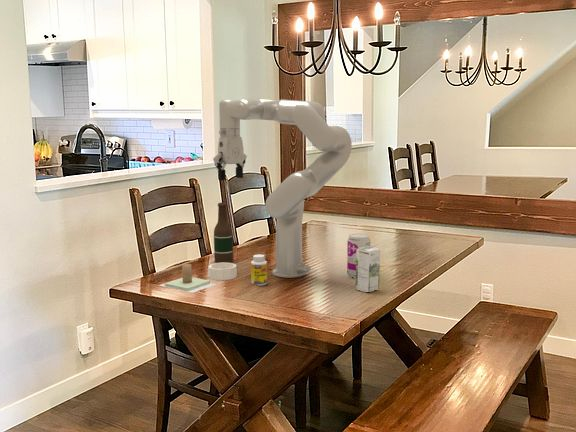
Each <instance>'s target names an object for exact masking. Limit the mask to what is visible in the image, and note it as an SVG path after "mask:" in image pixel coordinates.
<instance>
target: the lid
mask: <svg viewBox="0 0 576 432" xmlns="http://www.w3.org/2000/svg"><path fill="white" fill-rule="evenodd" d="M192 267H193V266H192V264H191V263H184V264H181V269H182V271H181V272H182V273H181V274H182V276H181V277H180V278H177V279H174V280H171V281H168V282H165V286H166V287H165V288H168V287H171V288H170V289H172V288H175V289H174V290H177V289H180V290H179V291H181V290H185V291H184V292H186V291H190V290H193V289H196V288H199V287H202V286H204V285H207V284H210V283H211V280H208V279H203V278H199V277H193V273H192Z"/></svg>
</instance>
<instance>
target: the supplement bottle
mask: <svg viewBox="0 0 576 432" xmlns="http://www.w3.org/2000/svg"><path fill="white" fill-rule="evenodd" d="M252 258H253V259H252V260H251V262H250V272H251V273H250V274H251V276H250V278H251V279H250V281H251V284H252V285H256V286H257V287H261V286H262V287H263V286H266V285H267V283H268V262H267V260H266V258H265V254H254V255H252Z"/></svg>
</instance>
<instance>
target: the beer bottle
mask: <svg viewBox="0 0 576 432" xmlns="http://www.w3.org/2000/svg"><path fill="white" fill-rule="evenodd" d="M227 206H228V205H227V202H218V203H217V207H218V209H217V210H218V212H217V213H218V214H217V223H216V224H215V226H214V229H213V249H214V250H213V252H214V263H221V262H226V263H234V242H233V241H234V239H233V230H232V227H231V225H230V223H229V221H228V210H227Z"/></svg>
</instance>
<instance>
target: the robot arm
mask: <svg viewBox="0 0 576 432" xmlns="http://www.w3.org/2000/svg"><path fill="white" fill-rule="evenodd" d="M218 105H219V131H218V133H219V138H218V144H217V145H218V146H217V154H216V155H215V156H214V157H213V158H212V160H213V163H214V165H215V167H216V170H217V178H218V181H226V177H227V176H226V169H225V168H226V166H227V165H235V178H237V179H238V178H239V179H243V178H244V168H245V164H246V163H247V162H246V160H247V157H248V155H247V154H246V153H244V151H245V150H244V144H243V138H242V136H241V120H242V121H248V120H262V121H263V120H265V121H274V122H278V123H279V124H282V125H294V126H296V127H297V128H298V129H299V130H300V132H302V134H303V135H304V136H305V137H306V138H307V140H308V141H309V142H310V143H311V144H312V145H313V146H314V147H315V148H316V149H317V150H318V151H320V152H323V153H321V154H320V155H319V156H318V157H317V158H315V160H314V161H313V162H312V163H311V164H310V165H308V166H307V167H306V168H305V169H303V170H298V171H295V172H293V173H291V174H290V175H288V176H287V177H286V178H284V180H283V181H282V182H281V183H280V184H279V185H278V186H277V187H276V188H275V189H274V190H273V191H272V192H271V193H270V194H269V195H268V197H267V198H266V200H265V211H266V213H267V215H268V216H269V217H271V218H273V219H275V220H276V225H275V226H276V227H275V237H276V238H275V241H276V244H275V245H276V246H275V247H276V249H275V250H276V251H275V252H276V268H273V269H272V275H273V276H276V277H278V278H288V279H289V278H290V279H291V278H300V277H303V276H306V275H307V274H308V273H310V271H311V266H308V265H306V264H305V261H303V215H304V209H305V199H307V198H309V197H313V196H314V195H316V194H317V193H318V192H319V191H320V190H321V189H322V188H323V187H324V186H325V185H326V184H327V183H328V182H329V181H330V180H331V179H332V178H333V177H334V176H335V175H336V174H337V173H338V172H339V171H340V170H341V169H343V167H344V166H345V165H346V163H347V162H348V160H349V158H350V156H351V153H352V147H353V145H352V144H353V143H352V138H351V136H350V133H349V132H348V130H347V129H346V128H344V127H342V126H339V125H330V126H329V124H328V123H327V122H326V121H325V117H326V110H325V107H324V106H323V105H322V104H321V103H319V102H317V101H309V100H293V99H292V100H291V99H279V100H275V99H274V100H272V99H260V98H239V99H222V100H220V101H219V104H218Z"/></svg>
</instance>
